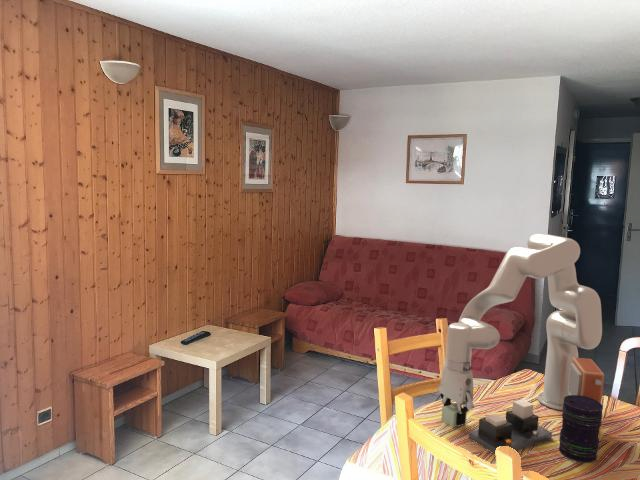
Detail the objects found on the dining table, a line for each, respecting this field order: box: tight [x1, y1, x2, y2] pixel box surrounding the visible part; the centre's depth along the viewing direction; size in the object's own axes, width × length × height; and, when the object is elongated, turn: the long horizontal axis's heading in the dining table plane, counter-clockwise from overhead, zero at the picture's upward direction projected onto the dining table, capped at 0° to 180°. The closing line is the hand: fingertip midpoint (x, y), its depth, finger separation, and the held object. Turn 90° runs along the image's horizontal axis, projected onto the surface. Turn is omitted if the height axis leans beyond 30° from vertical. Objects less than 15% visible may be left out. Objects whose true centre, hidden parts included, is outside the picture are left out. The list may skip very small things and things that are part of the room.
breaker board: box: [468, 409, 553, 455], centre depth 154 cm, size 22×11×6 cm, turn 119°
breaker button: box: [511, 399, 534, 419], centre depth 157 cm, size 4×4×5 cm
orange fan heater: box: [568, 357, 605, 404], centre depth 158 cm, size 21×7×15 cm
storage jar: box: [558, 395, 604, 464], centre depth 147 cm, size 10×10×15 cm
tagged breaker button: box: [485, 413, 506, 427], centre depth 152 cm, size 4×4×5 cm
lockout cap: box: [441, 402, 468, 428], centre depth 164 cm, size 5×5×6 cm
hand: (453, 419), depth 164 cm, fingers closed on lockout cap, 5 cm apart
